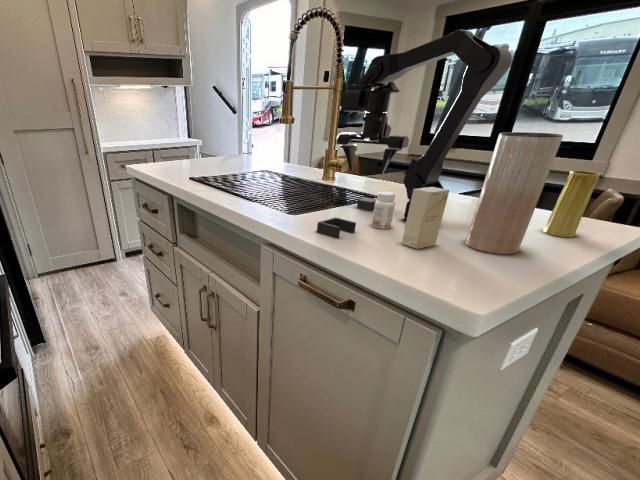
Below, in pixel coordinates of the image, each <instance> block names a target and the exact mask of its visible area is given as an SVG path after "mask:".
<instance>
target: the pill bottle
mask: <svg viewBox="0 0 640 480" xmlns="http://www.w3.org/2000/svg"><path fill="white" fill-rule="evenodd" d="M395 199H396V193H395V192H391V191H379V192H377V199H376V200H377V201H376V202H375V206H374V210H373V211H372V212H373V213H372V218H371V226H372V228H375V229H381V230H386V229H390V228H391V226H392V222H393V217H394V212H395V206H396V202H395Z"/></svg>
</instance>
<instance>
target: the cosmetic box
mask: <svg viewBox="0 0 640 480" xmlns="http://www.w3.org/2000/svg"><path fill="white" fill-rule="evenodd" d="M449 195H450V189H448V188H447V189H446V188H444V189H441V188H436V187H427V188H418V189H413V194H412V199H411V203H410V207H409V212H408V216H407V221H405V227H404V231H403V233H402V234H403V235H402V239H401V244H402V245H405V246H407V247H410V248H413V249H417V250H419V249H423V248H424V249H425V248H428V247H433V246H436V243H437V240H438V235H439V232H440V229H441V228H440V227H441V224H442V221H443V216H444V213H445V209H446V205H447V201H448V198H449Z"/></svg>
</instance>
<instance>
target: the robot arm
mask: <svg viewBox="0 0 640 480" xmlns="http://www.w3.org/2000/svg"><path fill="white" fill-rule="evenodd" d="M454 55H456V57H457V58H458V59H459V60H460V61H461V62H462V63H464V64H465V65H466V69H465V71H464V73H463V76H462V81H461V87H460V92H459V94H458V95H457V97H456V99H455V100H454V103H453V105H452V106H451V108H450V110H449V111H448V113H447V115H446V116H445V119H444V120H443V122H442V124H441V125H440V127H439V129H438V131H437V132H436V134H435V136H434V138H433V139H432V141H431V142H430V145H429V146H428V148H427V149H426V151H425V153H424V154H423V155H422V156H421V157H416V158H412V159H411V161H410V163H409V165H408V168H407V169H406V170H405V171H404V173H403V175H404V177H403V184H404V188H405V190H406V198H407V199H408V201H407V202H406V205H405V209H404V214H403V218H401V221H403V222H406V221H407V216H408V212H409V207H410V203H411V199H412V194H413V189H418V188H427V187H436V188H441V189H445V188H444V186H443V185H442V183H441V182H440V180H439V179H440V176H441V174H442V172H443V166H444V161H445V159H446V157H447V155H448V153H449V152H450V150H451V148H452V147H453V146H454V144H455V142H456V140H457V139H458V137H459V136H460V135H461V132H462V131H463V129H464V127H465V126H466V124H467V123H468V121H469V119H470V118H471V116H472V115H473V113H474V111H475V109H476V108H477V106H478V105H479V103H480V102H481V100H482V99H483V98H484V97H485V95H487V94H488V93H489V92H490V91H491V90H492V89H493V88H494V87H495V86H496V85H497V84H498V83H499V81H500V80H501V79H502V78H503V77H504V75H505V74H506V73H507V72H508V70H509V69H510V67H511V65H512V62H513V58H512V53H511V51H510V50H509V49H507V48H506V47H501V46H497V45H492V44H489V43H488V42H486V41H484V40H482V39H481V38H479V36H478V37H477V36H476V35H475V34H474V33H473V32H472V31H471V30H466V29H464V28H463V29H462V28H459V29H456V30H454V31H453V32H451V33H448V34H446V35H444V36H441V37H439V38H436V39H434V40H431V41H428V42H426V43H423V44H421V45H419V46H416V47H413V48H411V49H409V50H405V51H403V52H398V53H397V52H396V53H389V54H388V53H387V54H381V55H377V56H375V57H373V58H372V60H371V61H370V64H369V65H368V68H367V69H366V71H365V72H364V74H363V75H362V77H361V78H360V80H359V81H358V83H357V84H355V83H353V84H352V83H349V84H347V88H346V90H345V91H344V92H343V94H342V95H341V98H340V107H341V110H342V111H343V112H347V113H349V112H350V113H351V112H352V113H363V112H365V113H364V116H362V120H361V121H363V125H362V131H361V132H360V133H359V135H358V133H356V132H341V133H339V134H338V135H337V137H336V145H339V148H342V150H343V152H344V155H345V157H346V161H347V165H348V169H349V171H350V172H352V171H353V170H354V166H355V157H356V150H357V147H358V144H368V145H369V144H370V145H381V146H382V145H385V146H387V147H388V148H385V149H384V152H383V157H382V162H381V167H380V175H384V173H385V171H386V169H387V167H388V166H389V164H390V162H391V161H392V159H393V157H394V156H395V155H396V154H397V152H400V151H402V150H403V149H405V148H409V142H410V137H409V136H408V135H397V134H395V135H391V133H392V132H391V131H392V127H391V126H390V124H389V123H388V120H389V119H388V118H389V116H388V113H389V112H388V111H389V105H390V101H391V95H392V93H393V94H399V92H400V89H399V88H398V87H397V86H396V83H395V81H397V80H398V79H400V78H402V77H403V76H405V74H406V73H408V72H410V71H412V70H414V69H417V68H420V67H423V66H426V65H429V64H432V63H434V62H437V61H440V60H443V59H447V58H448V57H451V56H454ZM366 138H367V139H366Z"/></svg>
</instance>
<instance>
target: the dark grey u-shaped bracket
mask: <svg viewBox="0 0 640 480" xmlns="http://www.w3.org/2000/svg"><path fill="white" fill-rule="evenodd" d="M356 226H357V222H356V221H352V220H348V219H344V218H341V217H336V216H334V217H331V218H327V219H324V220H320V221H317V227H316V233H319V234H322V235H326V236H327V237H328V236H329V237H332V238H335V239H338V238H340V234H341V231H345V232H347V233H352V234H354V233H356Z"/></svg>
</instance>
